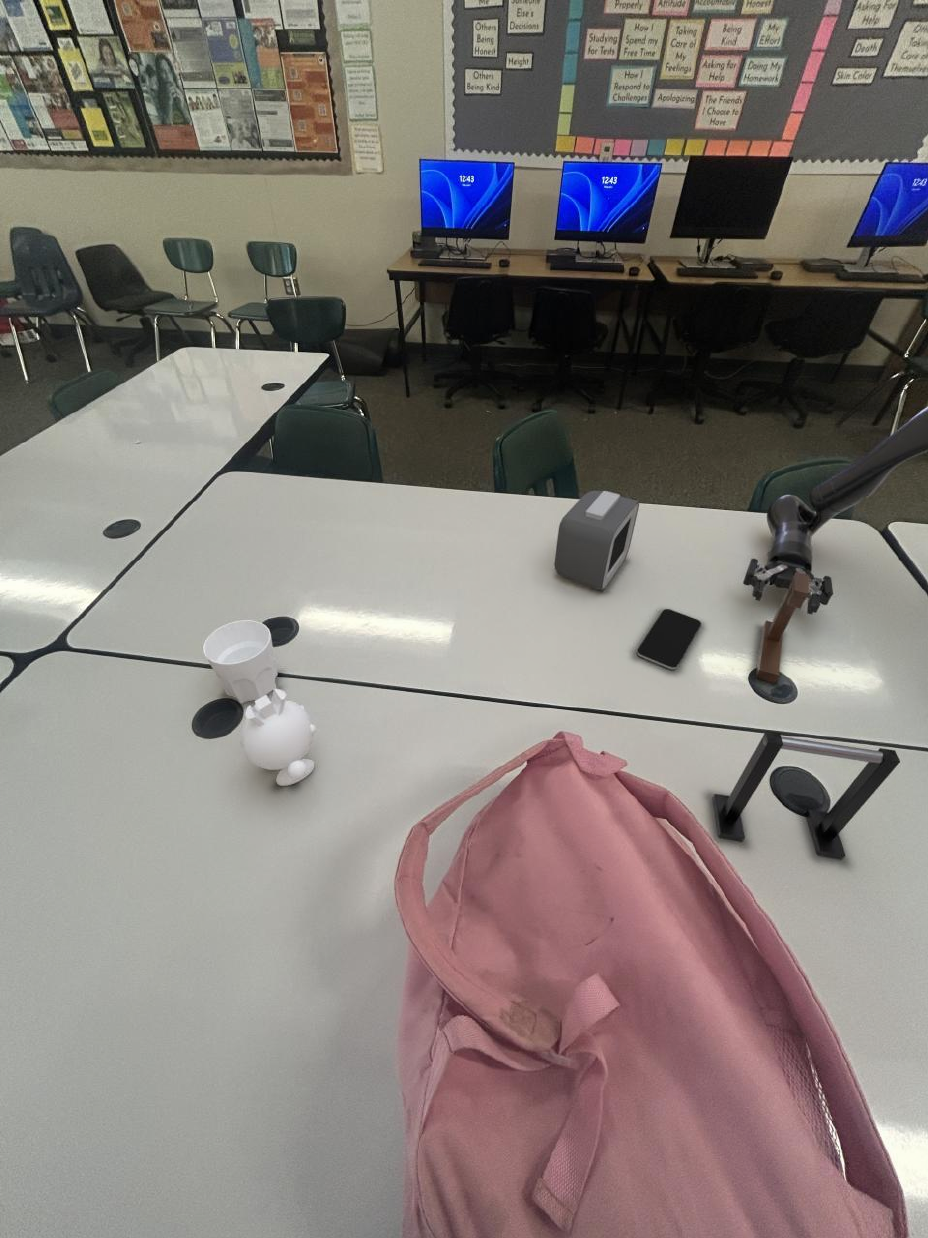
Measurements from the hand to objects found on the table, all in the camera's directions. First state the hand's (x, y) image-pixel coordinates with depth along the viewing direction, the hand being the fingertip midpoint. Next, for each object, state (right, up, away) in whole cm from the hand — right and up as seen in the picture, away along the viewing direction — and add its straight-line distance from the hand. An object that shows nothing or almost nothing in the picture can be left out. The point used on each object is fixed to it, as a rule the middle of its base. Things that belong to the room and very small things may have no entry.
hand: (785, 603), depth 99 cm
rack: (-15, -30, -24) cm, 42 cm away
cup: (-92, -14, -5) cm, 93 cm away
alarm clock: (-30, +8, +20) cm, 37 cm away
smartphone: (-19, -6, +3) cm, 21 cm away
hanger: (-3, -9, +1) cm, 9 cm away
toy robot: (-82, -24, -17) cm, 87 cm away
